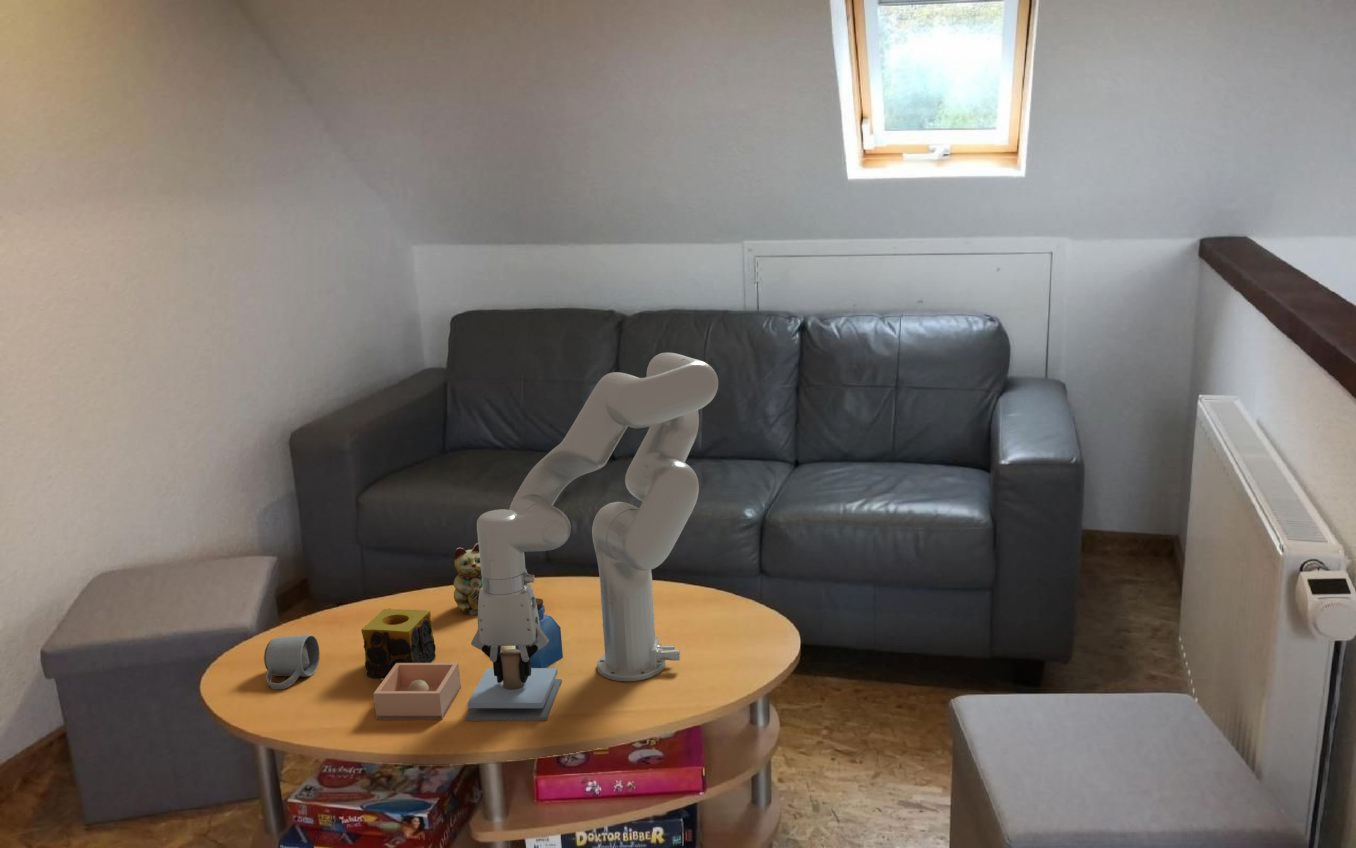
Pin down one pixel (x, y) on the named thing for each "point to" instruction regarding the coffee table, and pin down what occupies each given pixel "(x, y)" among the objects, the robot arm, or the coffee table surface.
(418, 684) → the ball
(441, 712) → the dish
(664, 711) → the coffee table surface
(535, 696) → the lid
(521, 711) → the mat
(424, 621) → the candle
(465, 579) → the decorative figurine
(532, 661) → the perfume bottle
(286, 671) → the ceramic mug
